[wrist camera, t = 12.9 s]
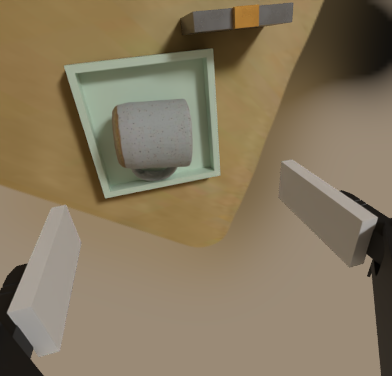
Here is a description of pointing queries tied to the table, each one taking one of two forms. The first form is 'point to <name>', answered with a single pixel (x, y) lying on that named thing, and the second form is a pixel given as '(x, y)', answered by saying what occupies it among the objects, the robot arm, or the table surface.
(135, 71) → the tray
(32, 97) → the table surface
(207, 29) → the grey cases
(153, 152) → the ceramic mug
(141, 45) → the table surface
